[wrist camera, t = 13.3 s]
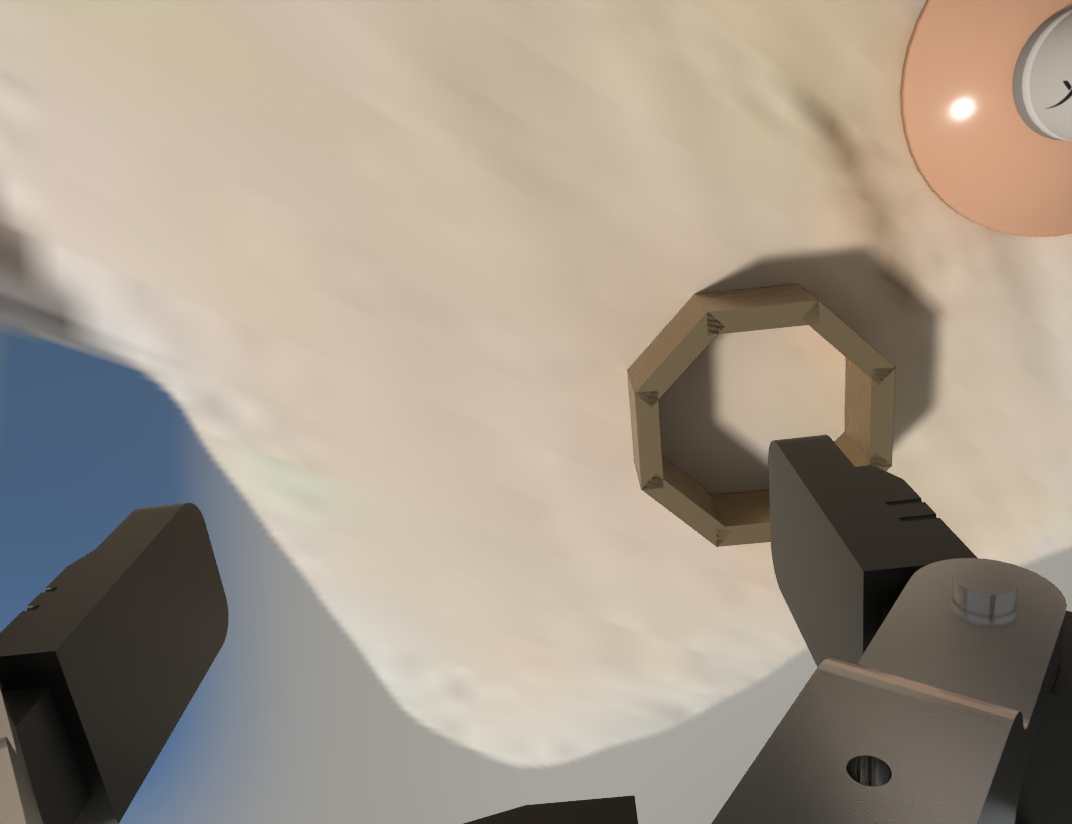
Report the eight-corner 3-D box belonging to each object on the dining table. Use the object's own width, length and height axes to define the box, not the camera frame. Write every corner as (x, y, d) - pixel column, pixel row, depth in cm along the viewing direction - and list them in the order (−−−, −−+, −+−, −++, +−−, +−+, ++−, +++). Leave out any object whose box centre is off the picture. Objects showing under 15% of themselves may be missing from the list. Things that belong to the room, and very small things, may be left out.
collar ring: (622, 301, 48) (628, 319, 44) (870, 276, 47) (898, 291, 43) (638, 520, 52) (645, 553, 48) (864, 499, 52) (889, 531, 48)
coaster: (906, -89, 41) (913, -92, 40) (1255, -131, 40) (1269, -135, 40) (894, 249, 47) (900, 252, 46) (1201, 217, 46) (1212, 219, 45)
